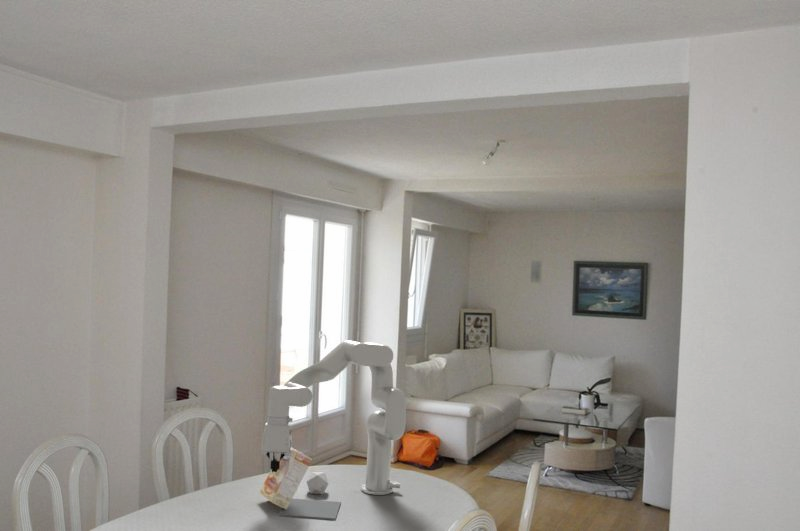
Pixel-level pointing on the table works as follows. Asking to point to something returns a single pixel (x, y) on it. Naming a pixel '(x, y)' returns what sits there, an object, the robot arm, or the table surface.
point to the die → (317, 483)
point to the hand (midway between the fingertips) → (274, 471)
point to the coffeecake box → (286, 478)
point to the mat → (311, 509)
